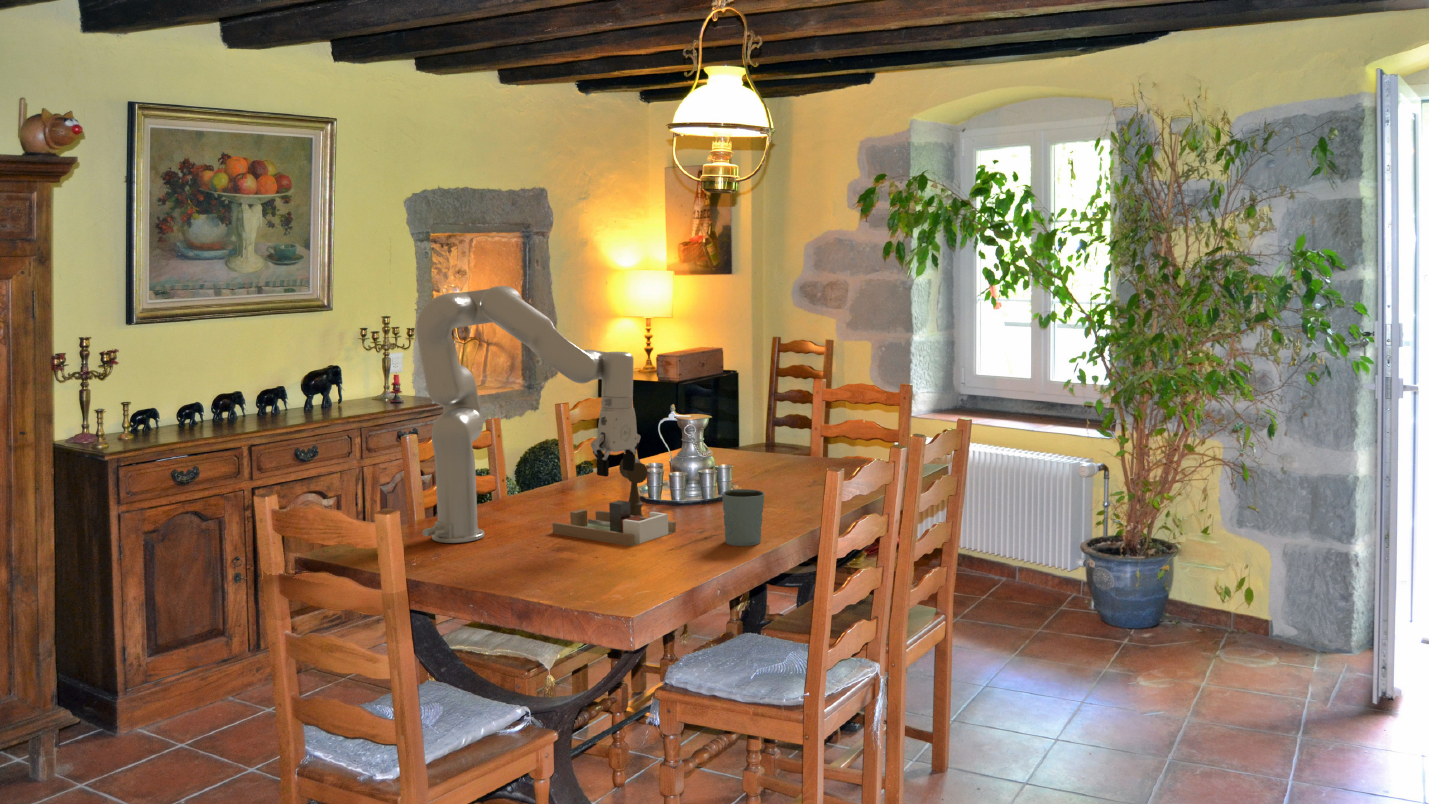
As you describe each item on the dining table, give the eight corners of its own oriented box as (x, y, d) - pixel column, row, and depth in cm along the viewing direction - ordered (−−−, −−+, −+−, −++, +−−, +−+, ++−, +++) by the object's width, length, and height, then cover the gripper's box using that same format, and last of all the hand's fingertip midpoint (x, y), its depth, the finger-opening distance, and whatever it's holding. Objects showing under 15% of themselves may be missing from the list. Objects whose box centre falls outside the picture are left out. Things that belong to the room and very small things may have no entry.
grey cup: (714, 543, 274) (713, 493, 273) (739, 534, 282) (738, 486, 281) (748, 549, 268) (747, 498, 267) (773, 540, 276) (772, 491, 274)
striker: (625, 536, 275) (624, 506, 274) (581, 529, 283) (580, 500, 282) (640, 531, 280) (640, 502, 279) (597, 524, 288) (596, 496, 287)
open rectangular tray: (632, 551, 267) (631, 525, 267) (553, 537, 282) (552, 512, 281) (675, 536, 281) (675, 511, 280) (598, 524, 295) (597, 500, 295)
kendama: (642, 517, 304) (640, 442, 301) (650, 524, 294) (648, 447, 292) (619, 518, 302) (618, 443, 300) (627, 526, 293) (625, 449, 290)
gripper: (605, 407, 267) (604, 480, 269) (651, 401, 281) (650, 470, 283) (581, 404, 271) (580, 475, 273) (627, 398, 286) (626, 466, 288)
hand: (615, 473), depth 278 cm, fingers open, 9 cm apart
